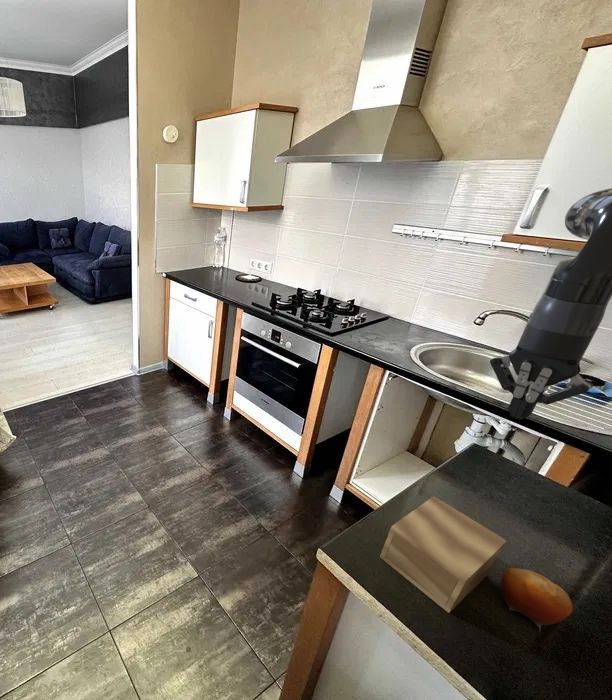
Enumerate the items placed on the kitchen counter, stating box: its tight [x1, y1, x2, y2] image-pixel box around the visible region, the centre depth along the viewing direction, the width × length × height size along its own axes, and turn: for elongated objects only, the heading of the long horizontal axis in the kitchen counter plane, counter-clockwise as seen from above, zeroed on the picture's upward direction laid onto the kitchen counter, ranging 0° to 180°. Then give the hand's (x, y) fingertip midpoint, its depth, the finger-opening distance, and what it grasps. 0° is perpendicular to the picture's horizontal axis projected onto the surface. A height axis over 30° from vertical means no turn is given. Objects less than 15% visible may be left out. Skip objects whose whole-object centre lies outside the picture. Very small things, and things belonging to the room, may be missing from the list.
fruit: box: [500, 567, 574, 633], centre depth 61 cm, size 8×8×8 cm
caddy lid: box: [390, 496, 508, 584], centre depth 66 cm, size 14×12×1 cm
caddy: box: [379, 529, 504, 614], centre depth 68 cm, size 14×12×7 cm
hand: (516, 416), depth 67 cm, fingers closed
